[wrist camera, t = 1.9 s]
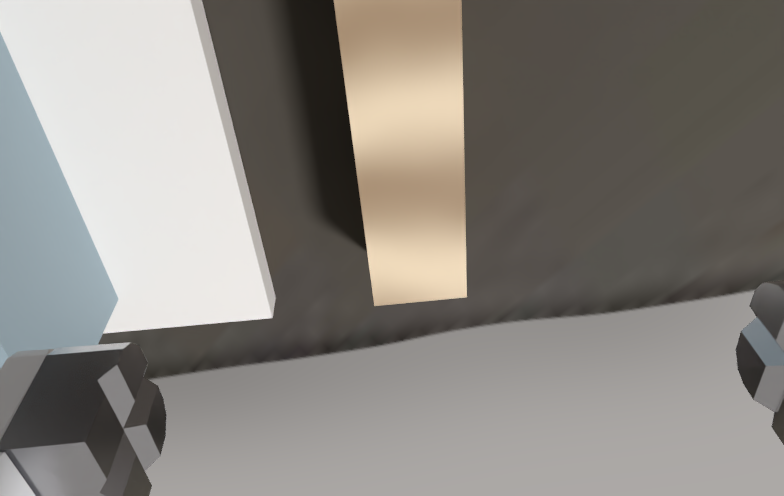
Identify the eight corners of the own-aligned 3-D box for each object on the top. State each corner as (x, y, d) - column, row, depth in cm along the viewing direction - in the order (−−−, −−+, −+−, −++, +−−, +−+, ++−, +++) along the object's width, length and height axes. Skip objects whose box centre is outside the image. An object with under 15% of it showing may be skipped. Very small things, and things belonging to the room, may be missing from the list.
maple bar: (277, -492, 16) (258, -560, 13) (431, -508, 16) (450, -580, 13) (372, 251, 31) (374, 305, 27) (454, 243, 30) (466, 296, 27)
